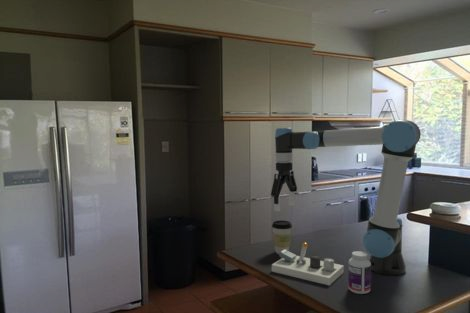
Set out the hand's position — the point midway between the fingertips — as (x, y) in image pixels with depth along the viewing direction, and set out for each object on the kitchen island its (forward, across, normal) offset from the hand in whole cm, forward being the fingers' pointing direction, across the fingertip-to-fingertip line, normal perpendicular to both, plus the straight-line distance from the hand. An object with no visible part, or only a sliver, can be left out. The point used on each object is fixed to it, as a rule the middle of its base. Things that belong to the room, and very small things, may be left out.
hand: (284, 208), depth 174 cm
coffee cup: (+25, -10, -7) cm, 28 cm away
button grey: (+22, +6, +23) cm, 33 cm away
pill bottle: (+26, +12, +38) cm, 47 cm away
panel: (+25, +6, +14) cm, 29 cm away
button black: (+22, +6, +17) cm, 29 cm away
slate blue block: (+20, +6, +4) cm, 21 cm away
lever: (+21, +6, +11) cm, 25 cm away
